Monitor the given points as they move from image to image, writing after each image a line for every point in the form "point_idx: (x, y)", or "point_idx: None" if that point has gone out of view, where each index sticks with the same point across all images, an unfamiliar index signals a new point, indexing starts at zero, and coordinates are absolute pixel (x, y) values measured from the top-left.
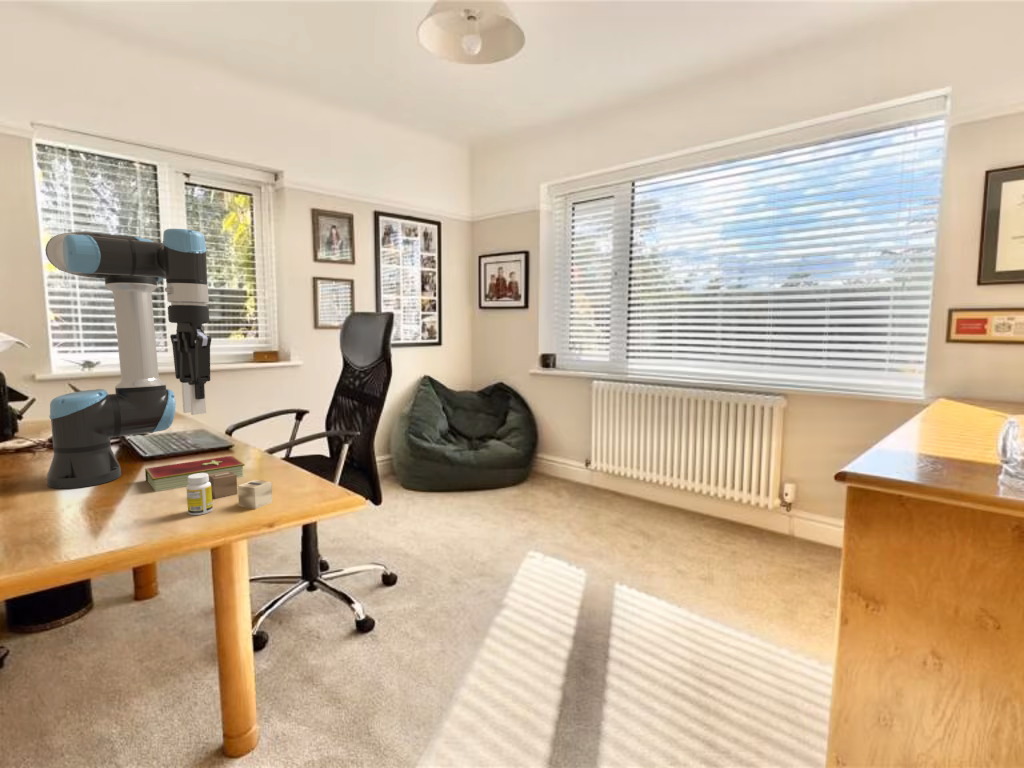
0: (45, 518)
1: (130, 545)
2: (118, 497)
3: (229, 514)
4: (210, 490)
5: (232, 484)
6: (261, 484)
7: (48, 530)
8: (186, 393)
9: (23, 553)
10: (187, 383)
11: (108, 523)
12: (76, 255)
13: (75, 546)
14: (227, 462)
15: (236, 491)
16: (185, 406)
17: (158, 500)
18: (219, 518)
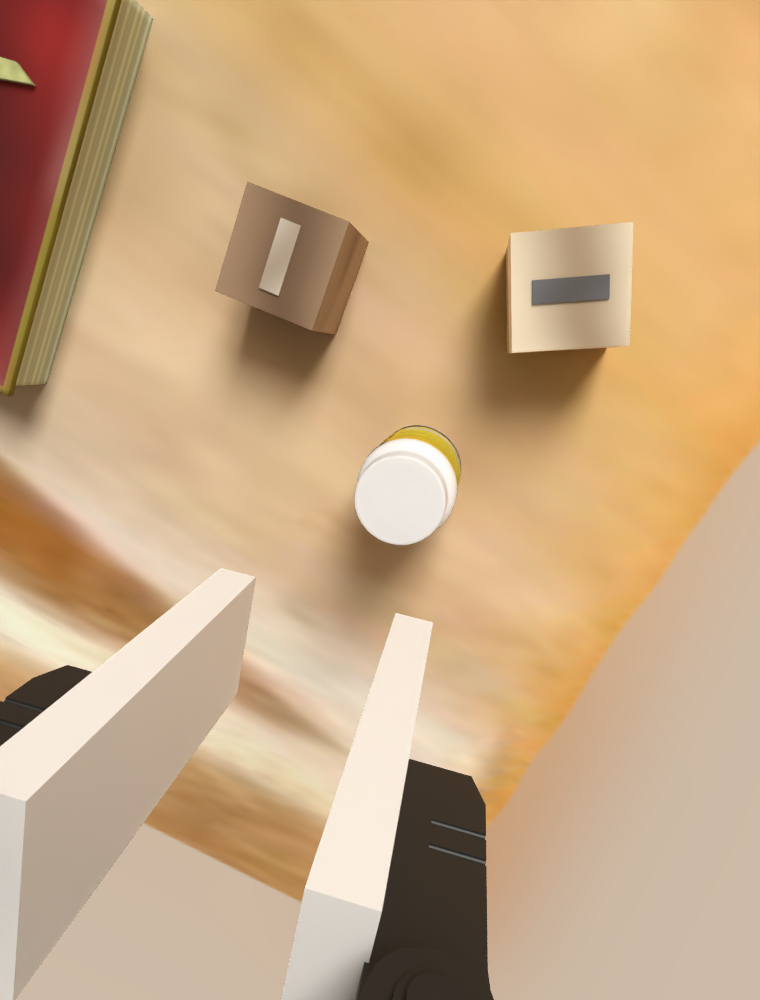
0: None
1: (484, 750)
2: (8, 486)
3: (551, 440)
4: (451, 460)
5: (351, 253)
6: (613, 282)
7: None
8: (132, 817)
9: (274, 863)
10: (25, 937)
11: (243, 660)
12: None
13: None
14: (16, 4)
15: (365, 243)
16: (209, 723)
17: (159, 447)
18: (551, 487)
